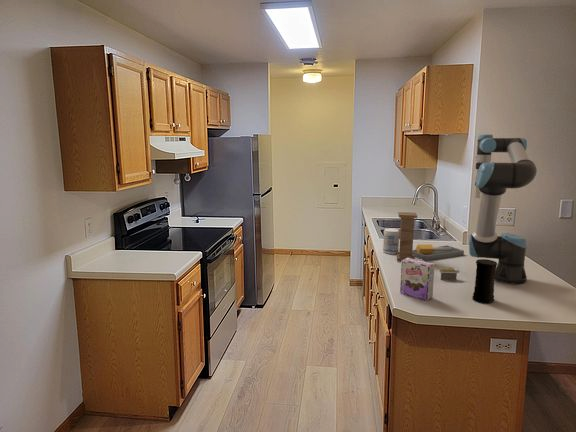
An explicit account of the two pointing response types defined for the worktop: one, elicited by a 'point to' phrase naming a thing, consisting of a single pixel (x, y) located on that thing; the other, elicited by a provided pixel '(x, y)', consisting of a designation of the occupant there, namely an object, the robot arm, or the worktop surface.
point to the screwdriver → (430, 249)
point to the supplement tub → (391, 241)
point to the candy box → (417, 278)
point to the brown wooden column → (406, 235)
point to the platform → (448, 273)
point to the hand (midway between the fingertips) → (480, 199)
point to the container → (484, 281)
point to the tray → (439, 254)
